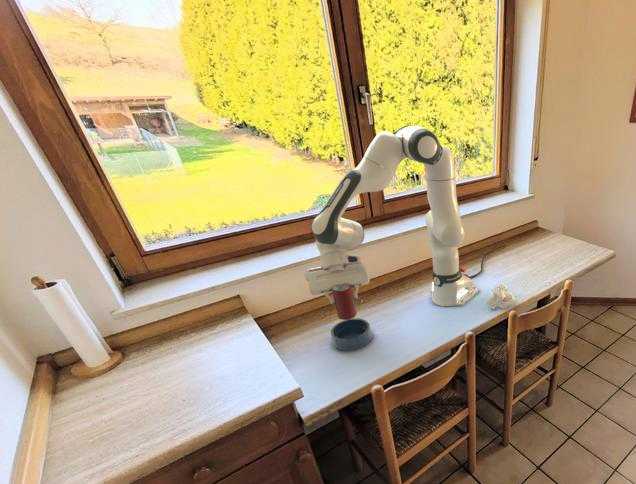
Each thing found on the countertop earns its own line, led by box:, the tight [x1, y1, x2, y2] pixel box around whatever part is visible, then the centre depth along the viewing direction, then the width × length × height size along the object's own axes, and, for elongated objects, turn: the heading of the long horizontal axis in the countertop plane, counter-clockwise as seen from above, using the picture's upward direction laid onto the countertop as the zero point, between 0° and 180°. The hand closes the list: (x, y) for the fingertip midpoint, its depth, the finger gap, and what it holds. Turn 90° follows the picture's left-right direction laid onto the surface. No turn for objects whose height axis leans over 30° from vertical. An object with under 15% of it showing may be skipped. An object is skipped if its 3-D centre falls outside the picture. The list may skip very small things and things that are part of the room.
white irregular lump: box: [485, 283, 518, 310], centre depth 155 cm, size 12×9×10 cm
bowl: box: [330, 317, 373, 352], centre depth 133 cm, size 14×14×6 cm
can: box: [332, 283, 357, 321], centre depth 126 cm, size 6×6×12 cm
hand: (344, 300), depth 125 cm, fingers closed on can, 6 cm apart
